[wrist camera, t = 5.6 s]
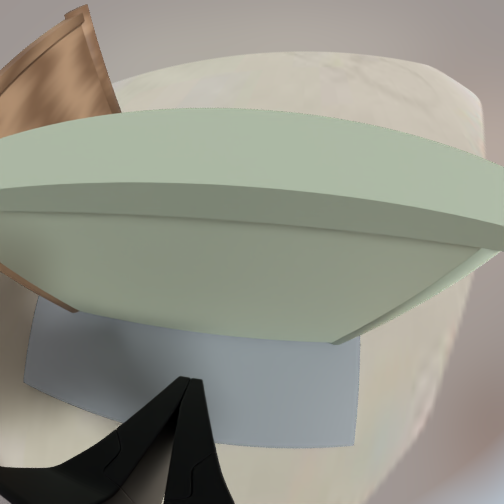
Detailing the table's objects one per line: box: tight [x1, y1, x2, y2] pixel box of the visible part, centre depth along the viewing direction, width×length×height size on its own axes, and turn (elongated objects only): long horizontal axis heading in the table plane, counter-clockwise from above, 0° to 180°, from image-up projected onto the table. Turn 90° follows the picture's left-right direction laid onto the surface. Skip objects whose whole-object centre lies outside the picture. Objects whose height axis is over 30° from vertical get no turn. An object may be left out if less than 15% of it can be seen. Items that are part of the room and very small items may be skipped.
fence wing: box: [0, 108, 504, 345], centre depth 10 cm, size 2×18×14 cm, turn 85°
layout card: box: [24, 295, 360, 448], centre depth 18 cm, size 23×22×1 cm
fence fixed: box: [0, 4, 121, 138], centre depth 14 cm, size 16×2×14 cm, turn 175°
